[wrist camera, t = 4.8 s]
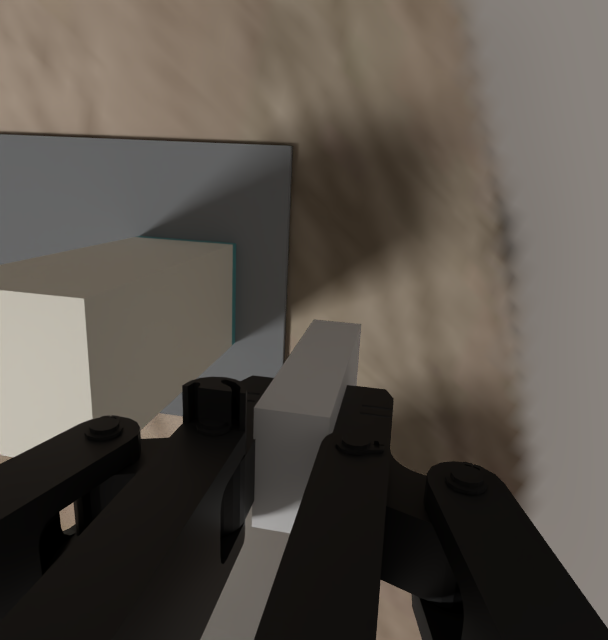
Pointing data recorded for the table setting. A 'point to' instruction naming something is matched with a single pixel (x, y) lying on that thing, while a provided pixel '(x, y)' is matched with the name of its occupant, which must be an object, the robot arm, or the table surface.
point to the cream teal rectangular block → (109, 332)
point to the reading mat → (161, 217)
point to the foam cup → (247, 585)
